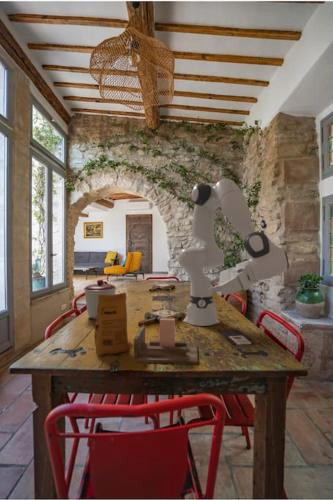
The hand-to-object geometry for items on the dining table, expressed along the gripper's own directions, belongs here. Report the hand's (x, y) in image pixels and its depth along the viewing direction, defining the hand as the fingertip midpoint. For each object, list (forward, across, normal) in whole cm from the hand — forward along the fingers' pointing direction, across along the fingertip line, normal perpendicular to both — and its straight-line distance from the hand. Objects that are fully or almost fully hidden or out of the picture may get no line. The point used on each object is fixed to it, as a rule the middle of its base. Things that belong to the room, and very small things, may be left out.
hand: (209, 286), depth 106 cm
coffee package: (+43, +11, +7) cm, 45 cm away
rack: (+23, +10, +16) cm, 29 cm away
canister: (+70, -33, +4) cm, 77 cm away
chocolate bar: (+1, -14, +30) cm, 33 cm away
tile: (+22, +10, +15) cm, 29 cm away
